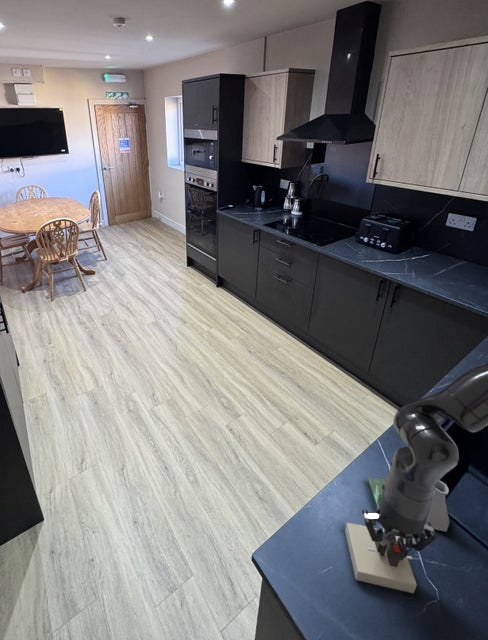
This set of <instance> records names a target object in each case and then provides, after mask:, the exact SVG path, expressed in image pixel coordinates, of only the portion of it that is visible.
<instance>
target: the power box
mask: <svg viewBox="0 0 488 640" xmlns="http://www.w3.org/2000/svg"><path fill="white" fill-rule="evenodd" d="M385 481H386V477H385V478H381V479H377V478H371V477H368V478H367V483H366V484H367V485H366V486H367V489H368V491H369V495H370V497H371V501H372V504H373V507H374V510H375V511H376V510H377V509H379V508H380V500H381V496H382V492H383V489H384V484H385Z"/></svg>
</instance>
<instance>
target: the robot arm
mask: <svg viewBox="0 0 488 640" xmlns="http://www.w3.org/2000/svg"><path fill="white" fill-rule="evenodd" d="M447 420H451V421H452V422H454V423H455V424H456V425H458V427H460V428H461V429H463V430H464V431H467V432H468V433H469V432H470V433H477V432H479V431H481V430H482V429H484V428H485V427H487V426H488V364H485V365H480V366H476V367H474V368H472V369H469V370H468V371H466V372H464V373H463V374H461V375H460V376H459V377H457V378H456V379H455V380H454V381H452V382H451V383H449V385H447V386H446V387H445V388H444V389H443V390H441V391H438V392H436V393H433V394H431V395H428V396H426V397H423V398H420V399H418V400H415V401H411V402H409V403H406V404H404V405H402V406H401V407H399V408H398V409H397V411H396V412H395V414H394V416H393V419H392V421H393V428H394V429H395V431H396V432H397V434H398V435H399V437H400V438H401V440H402V441H403V443H404V444H405V446H403V447H399V448H398V449H397V450H396V451H395V452H394V455H393V457H392V461H391V464H390V468H389V471H388V473H387V475H386V477H385V479H386V481H385V484H384V489H383V492H382V496H381V500H380V508H379V509H377V510H375V512H374V513H369V510H367V509H362V510H361V514H362V517H363V520H364V521H363V522H364V524H365V525H364V526H366V527H367V530H368V532H369V534H370V537H371V539H372V541H373V542H375V545H376V549H377V552H379V554H380V555H381V556H384V555H385V551H386V548H387V544H388V542H389V541H390V542H392V540H393V539H394V537H395V536H399V537H400V538H399V537H398V540H397V543H398V545H399V548H400V551H401V557H400V560H403V559H404V558H406V557H407V556H408V554H409V552H411V551H412V549H414V550H415V551H417V552H421V551H423V550H424V549H426V547H428V546H429V545H430V544H432V543H433V542H434V541H436V540H437V539H438V538H437V534H436V532H435V529H433V527H432V525H431V523H430V522H426V519H427V516H428V513H429V510H430V507H431V503H432V495H433V492H434V489H435V486H436V483H437V482H438V481H439V480H440V481H441V480H442V479H443V478H444V476H446V475H447V474H448V473H450V472H451V471H452V470H453V469H454V468H455V467H456V466H457V465H458V463H459V459H460V458H459V457H460V455H459V449H458V446H457V444H456V442H455V441H454V440H453V439H452V437H451V436H450V435H449V433H448V432H447V431H446V430H445V429H444V428H443V427H442V426H441V424H440V422H442V421H447ZM377 522H378V527H377V528H376V525H377ZM375 528H376V529H375Z"/></svg>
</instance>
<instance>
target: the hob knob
mask: <svg viewBox="0 0 488 640" xmlns="http://www.w3.org/2000/svg"><path fill="white" fill-rule="evenodd" d="M386 554H387V557H388V561H389V564H390V566H394V567H397V566H398V563H399V560H400V557H401V551H400V548H399V545H398V543H397V540H396V537H394V539H393V540H392V542H390V541H389V542H388V544H387V548H386Z"/></svg>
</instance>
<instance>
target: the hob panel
mask: <svg viewBox="0 0 488 640" xmlns="http://www.w3.org/2000/svg"><path fill="white" fill-rule="evenodd" d="M375 529H377V528H376V527H375ZM344 532H345V536H346V541H347V545H348V546H347V547H348V550H349V554H350V559H351V565H352V568H353V573H354V579H355V580H356V581H359V582H363V583H368V584H373V585H377V586H380V587H384V588H390V589H392V590H393V589H394V590H397V591H402V592H406V593H411V594H414V593H415V591H416V588H417V586H418V585H417V581H416V578H415V575H414V573H413V570H412V567H411V564H410V561H409V560H413V556H409V555H407V557H406V558H404V559H403V560H399V563H398V566H397V567H394V566H390V564H389V561H388V557H387V554H386V551H385V555H384V556H381V555H380V554H379V552H377V549H376V545H375V542H373V541H372V539H371V537H370V534H369V532H368V530H367V527H366V525H362V524H356V523H351V522H346V525H345V530H344ZM395 537H396V540H398V537H399V536H395ZM399 538H401V537H399Z"/></svg>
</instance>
